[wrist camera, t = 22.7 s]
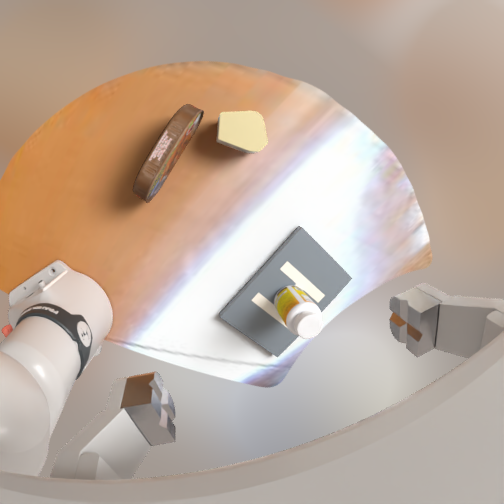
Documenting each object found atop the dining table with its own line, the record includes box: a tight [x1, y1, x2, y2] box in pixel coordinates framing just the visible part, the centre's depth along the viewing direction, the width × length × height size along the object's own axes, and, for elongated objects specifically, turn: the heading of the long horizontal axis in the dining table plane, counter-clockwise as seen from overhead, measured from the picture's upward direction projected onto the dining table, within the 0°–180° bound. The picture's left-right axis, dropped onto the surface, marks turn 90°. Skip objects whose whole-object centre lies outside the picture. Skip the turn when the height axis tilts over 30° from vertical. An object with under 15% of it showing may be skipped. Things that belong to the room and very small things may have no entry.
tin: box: [133, 104, 204, 203], centre depth 39 cm, size 15×3×8 cm, turn 148°
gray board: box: [219, 226, 352, 357], centre depth 52 cm, size 20×14×2 cm
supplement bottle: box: [274, 285, 323, 339], centre depth 46 cm, size 6×6×10 cm
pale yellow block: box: [216, 111, 268, 153], centre depth 42 cm, size 10×9×6 cm
